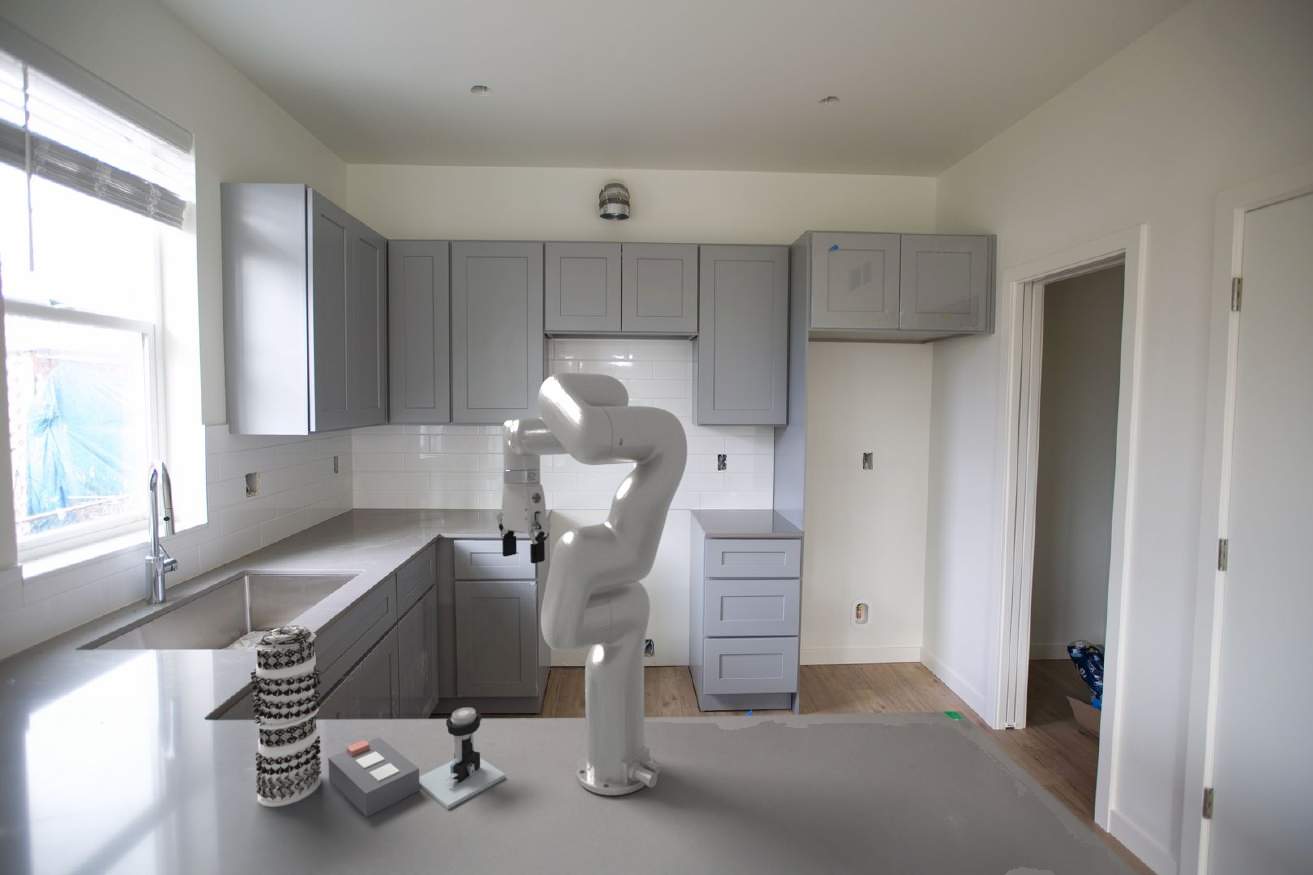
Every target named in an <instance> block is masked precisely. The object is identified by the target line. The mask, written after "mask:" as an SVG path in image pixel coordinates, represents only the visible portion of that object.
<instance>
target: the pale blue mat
mask: <svg viewBox="0 0 1313 875" xmlns="http://www.w3.org/2000/svg"><path fill="white" fill-rule="evenodd" d="M452 763H454V759H453V760H451V761H449V762H447V763H445V764H442V765H441V766H438V767H437V768H434V769H432V770H431V771H428V772H426V773H423V774H422V775H419V788H421V789H422V790H423V791H424V792H425V793H427V794H428V795H429V796H430V797H432V798H433V799H434V800H435V801H436V802H438V803H439V804H440V805H441V806H443V807H444V809H446V810H450V809H451V808H453V807H456V806H457V805H460V804H461V803H462V802H464V801H467V800H468V799H470V798H472V797H473V796H475V795H477V794H480V792H482V791H485V790H486V789H488V788H490V787H491V786H493V785H495V784H497V783H499V782H501V781H503V780H504V779H506V773H504V772H502V771H501V770H500V769H498V768H496V767H495V766H493V765H492V764H491V763H489V762H487V761H486V760H484V759H483V758H481V757H480V768H479V769H478V770H475V772H474V774H473V775H472V776H470V775H469V776H468V777H467V778H466V779H464V780H463V781H462V782H461V783H458V782H455V783H454V784H453V785H451V786H447V784H448V783H449V782H450V780H447V778H448V777H449V776H450V775H451V769H450V766H451V764H452ZM472 773H473V772H472ZM450 778H451V777H450ZM450 784H452V783H450Z"/></svg>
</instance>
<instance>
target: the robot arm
mask: <svg viewBox="0 0 1313 875" xmlns="http://www.w3.org/2000/svg"><path fill="white" fill-rule="evenodd" d="M629 398H630V397H629V393H628V390H627V388H626V387H625V385H624V384H623V383H622V382H621V381H620V380H619V379H618V378H615V377H614V376H610V375H607V374H599V373H583V372H582V373H578V372H557V373H554V374H552V375H550V376H548V377H547V378H546V379H545V380H544V381H543V383H542V385H541V386H540V388H539V392H538V395H537V406H538V408H537V409H538V412H539V416H540V417H522V418H521V417H520V418H515V419H507V420H506V421H504V423H503V425H502V442H503V443H502V444H503V446H502V447H503V448H502V450H503V451H502V452H503V453H502V454H503V455H502V456H503V489H502V498H501V512H500V513H498V514H497V515H496V520H497V523H498V529H499V531H500V537H501V538H502V539H501V540H502V544H501V545H502V556H503V557H510V556H514V555H516V554H517V551H518V550H517V536H516V535H515V534H516V533H519V534H524V535H525V534H526V535H528V536H529V539H530V540H531V542H532V543H530V544H529V545H530V546H529V547H530V548H529V550H530V552H529V553H530V563H531V564H532V565H533V564H534V565H535V564H538V563H542V562H544V561H545V555H546V552H545V543H546V542H547V538H548V537H549V535H550V530H551V528H552V523H551V522H550V521H549V520H548V519H547V507H546V499H545V491H544V487H543V484H541V456H546V455H547V456H548V455H550V456H551V455H567V454H568V455H570V456H571V458H573V459H574V460H575V461H577V462H578V463H581V464H584V465H588V466H589V465H590V466H601V465H602V466H603V465H616V464H617V465H619V464H631V463H632V464H633V463H636V466H635V467H634V469H633V470H632V471H631V472H629V474H628V475H627V476H626V477H625V478H624V479H623V480H622V482H621V484H620V485H619V486H618V487H617V489H616V491H615V493H614V495H613V498H612V501H611V507H610V511H609V512H608V513H609V514H608V515H607V516H608V517H607V518H606V520H604V522H602V523H599V524H593V525H586V526H580V527H575V528H572V529H569V530H568V531H566V532H565V533H563V534H562V535H561V536H560V537H559V538H558V540H557V541H556V543H555V545H554V548H553V552H552V555H551V559H550V563H549V564H550V565H549V570H548V575H547V579H546V584H545V589H544V595H543V600H542V604H541V605H542V606H541V614H540V627H541V633H542V636H543V639H544V641H545V643H546V644H547V645H548V646H549V648H551V649H552V650H554V651H557V652H558V653H569V652H575V651H579V650H583V649H586V648H589V647H590V650H589V652H588V654H587V657H586V662H585V669H584V682H585V683H584V687H585V688H584V690H585V693H584V695H585V697H584V698H585V703H584V704H585V754H584V755H583V756H581V757H580V759H579V760H578V762H577V765H576V778H577V781H578V783H579V784H580V785H581V786H582V787H583V788H585V789H586V790H587V791H590V792H592V793H594V794H597V795H602V796H603V795H604V796H621V795H627V794H628V795H629V794H631V793H634V792H636V791H639V790H640V789H642V788H644V787H645V786H647V787H648V788H654V787H655V786H656V784H657V781H658V775H659V774H660V772H661V769H662V766H661V765H660V764H658V763H655V761H654V759H653V757H652V756H651V754H650V747H648V746H646V745H645V741H646V740H645V739H646V738H645V645H646V637H647V631H648V626H649V622H650V614H651V612H650V610H651V607H650V606H651V603H650V596H649V594H648V592H647V589H646V588H645V587H644V585H643V584H642V582H640V581H642V580H644V579H645V578H646V577H648V575H650V573H651V570H652V568H653V566H654V564H655V560H656V557H657V552H658V549H659V547H660V546H659V545H660V542H661V539H662V536H663V532H664V529H665V524H666V522H667V517H668V513H669V510H670V507H671V504H672V502H673V500H674V497H675V496H676V495H675V494H676V492H677V490H678V488H679V486H680V483H681V481H682V478H683V476H684V473H685V469H686V466H687V462H688V442H687V440H688V439H687V435H686V432H685V429H684V427H683V424H682V423H681V421H680V420H679V418H678V417H677V416H676V415H675V414H674V413H672V412H670V411H668V410H666V409H663V408H659V407H654V406H646V405H645V406H642V405H641V406H640V405H639V406H637V405H635V406H634V405H632V406H631V405H629Z"/></svg>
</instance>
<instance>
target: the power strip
mask: <svg viewBox="0 0 1313 875" xmlns="http://www.w3.org/2000/svg"><path fill="white" fill-rule="evenodd" d="M327 762H328V780H329V781H330V782H331V783H332V785H334V786H335V787H336V788H337V789H338V790H339V791H340V793H342V794H343V795H344V796H345V797H346V798H347V799H348V800H349V801H350V802H351V803H352V804H353V806H354V807H355V808H356V809H358V811H360V813H362V814H363V816H364V817H365V818H368V817H370V816H373V815H374V814H376V813H378V812H380V811H382V810H384V809H385V808H388V807H390V806H392V805H393V804H396V803H398V802H400V801H402V800H404V799H406V798H408V797H410V796H412V795H414V794H416V793H417V792H419V791H420V787H419V777H420V768H419V767H418V766H417V765H416V764H414V763H413V762H412V761H410V760H409V759H408V758H407V757H405V755H403V754H401V753H400V752H399V751H398V750H396V749H395V748H394V747H392V746H391V745H390V744H389V743H387V742H386V741H385V740H383V739H382V738H381V737H380V736H377V737H376V738H372V739H371V740H368V741H366V740H365V739H363V740H361V741H359V742H355V743H354V744H351V745H349V746H347V747H346V750H344V751H341V752H339V753H336V754H334V755H332V756H329V757H328V761H327Z"/></svg>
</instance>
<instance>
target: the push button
mask: <svg viewBox="0 0 1313 875" xmlns="http://www.w3.org/2000/svg"><path fill="white" fill-rule="evenodd" d="M481 721H482V714H481V713H480V712H478V711H476V709H475V708H473V707H461V708H457V709H456V710H454V711H453V712H452V713H451V715H449V717H448V718H447V719H446V722H445V724H446V727H447V732H448V734H450V735H452V736H454V754H453V757H454V759H453V760H454V763H452V764H451V766H450V769H451V775H450V776H449V777H448V778H447V780H450V782H449V783H448V784H447V786H451V785H453V784H454V783H455V782H458V783H461V782H462V781H463V780H464V779H466V778H467V777H468V776H469V775H470V776H472V775H473V774H474V772H475V770H478V769H479V768H480V758H481V753H480V751H475V744H474V733H475V732H478V729H479V728H480V726H481ZM472 772H473V773H472ZM450 777H451V778H450ZM450 783H452V784H450Z"/></svg>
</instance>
